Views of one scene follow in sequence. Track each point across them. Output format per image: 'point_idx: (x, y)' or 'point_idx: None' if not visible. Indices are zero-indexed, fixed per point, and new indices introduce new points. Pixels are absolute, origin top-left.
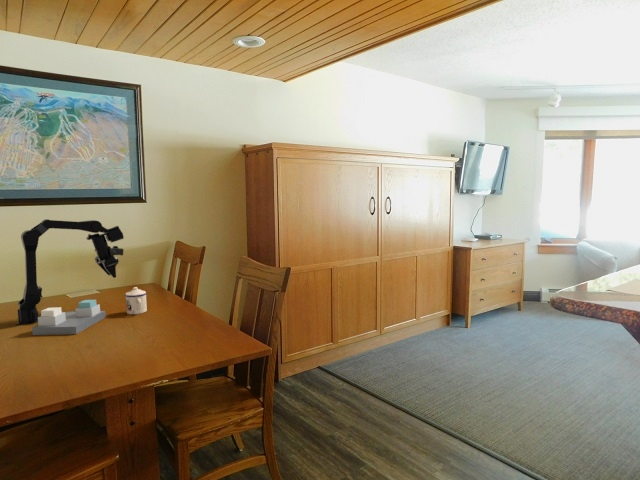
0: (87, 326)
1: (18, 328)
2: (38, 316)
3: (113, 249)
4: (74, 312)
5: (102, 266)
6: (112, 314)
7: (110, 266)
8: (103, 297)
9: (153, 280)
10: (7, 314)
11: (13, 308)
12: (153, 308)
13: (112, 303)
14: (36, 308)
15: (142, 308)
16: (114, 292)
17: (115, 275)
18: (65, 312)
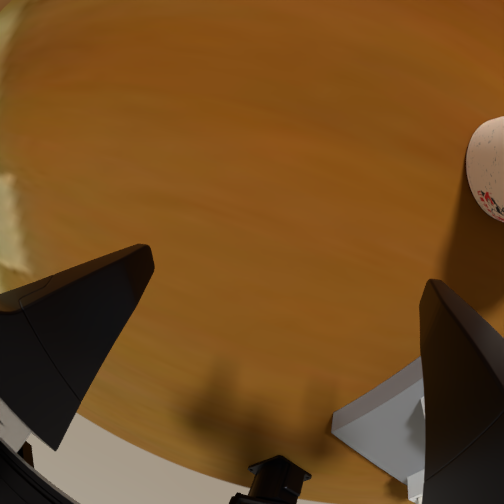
0: None
1: (324, 490)
2: (291, 473)
3: None
4: (378, 422)
5: (69, 393)
6: (452, 274)
7: (494, 486)
8: (66, 182)
9: (5, 13)
10: (139, 445)
11: (84, 409)
12: (492, 79)
13: (200, 181)
14: (281, 495)
15: None
16: (30, 129)
17: (454, 301)
18: (342, 438)
